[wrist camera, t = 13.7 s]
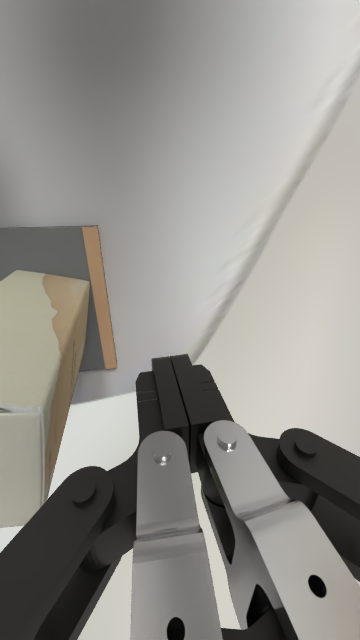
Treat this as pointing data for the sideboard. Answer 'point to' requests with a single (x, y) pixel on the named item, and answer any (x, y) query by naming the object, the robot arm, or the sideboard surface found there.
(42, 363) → the box
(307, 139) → the sideboard surface
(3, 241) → the mat
